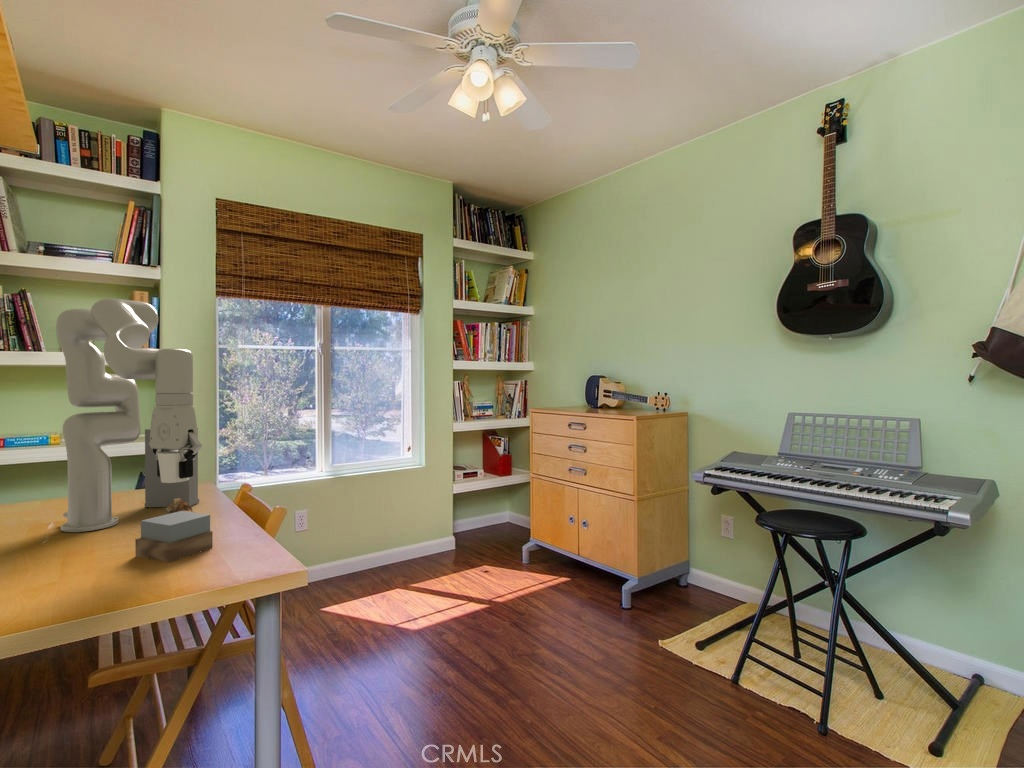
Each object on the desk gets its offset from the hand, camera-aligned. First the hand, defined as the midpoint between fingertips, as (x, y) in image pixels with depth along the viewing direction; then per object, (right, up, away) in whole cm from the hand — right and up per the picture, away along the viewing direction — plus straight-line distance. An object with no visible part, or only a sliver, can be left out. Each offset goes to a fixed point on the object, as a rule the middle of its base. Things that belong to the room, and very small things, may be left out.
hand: (175, 475), depth 125 cm
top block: (0, -14, +1) cm, 14 cm away
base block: (0, -19, 0) cm, 19 cm away
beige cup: (0, -1, 0) cm, 1 cm away
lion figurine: (-6, -18, +14) cm, 24 cm away
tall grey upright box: (-30, -18, +46) cm, 57 cm away
